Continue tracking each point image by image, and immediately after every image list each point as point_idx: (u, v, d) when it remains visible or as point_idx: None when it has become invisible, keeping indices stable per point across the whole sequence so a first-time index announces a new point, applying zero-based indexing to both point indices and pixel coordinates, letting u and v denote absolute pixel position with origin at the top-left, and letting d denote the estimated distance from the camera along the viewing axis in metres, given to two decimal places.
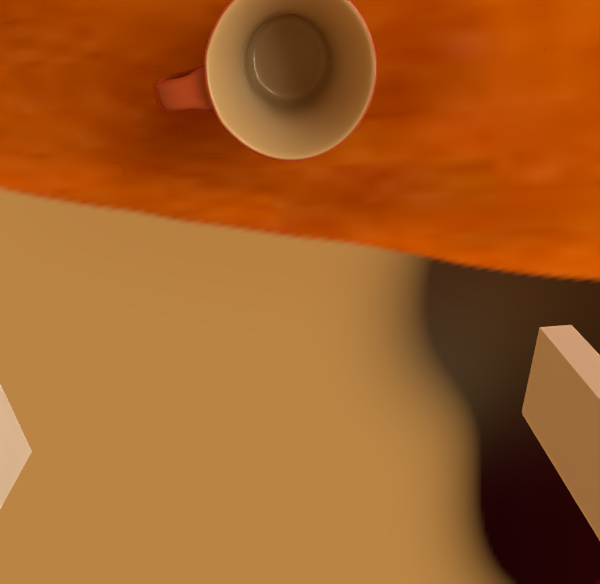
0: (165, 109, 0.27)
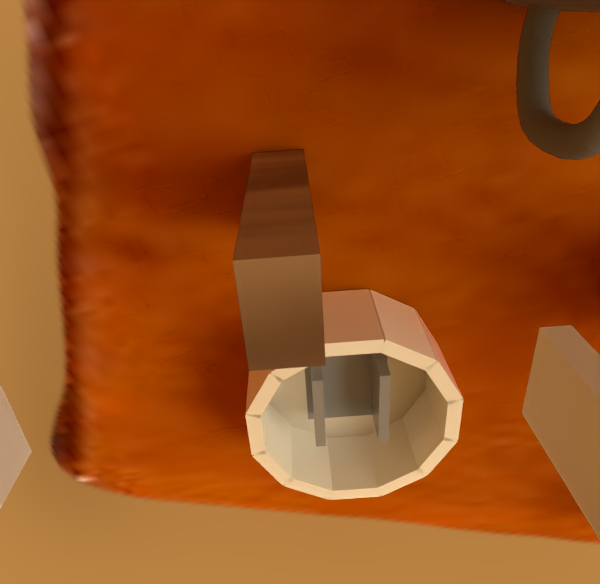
0: None
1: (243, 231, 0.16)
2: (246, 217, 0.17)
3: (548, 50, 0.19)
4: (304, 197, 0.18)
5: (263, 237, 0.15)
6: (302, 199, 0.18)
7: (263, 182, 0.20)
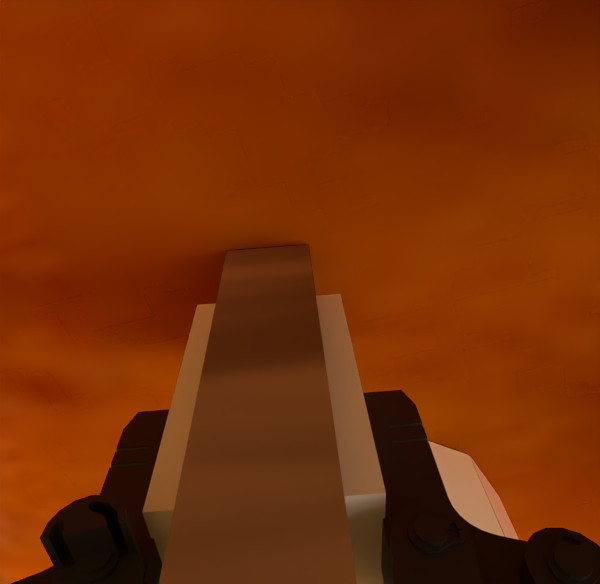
0: None
1: (174, 571, 0.06)
2: (190, 490, 0.08)
3: None
4: (319, 408, 0.09)
5: None
6: (313, 416, 0.09)
7: (237, 345, 0.11)
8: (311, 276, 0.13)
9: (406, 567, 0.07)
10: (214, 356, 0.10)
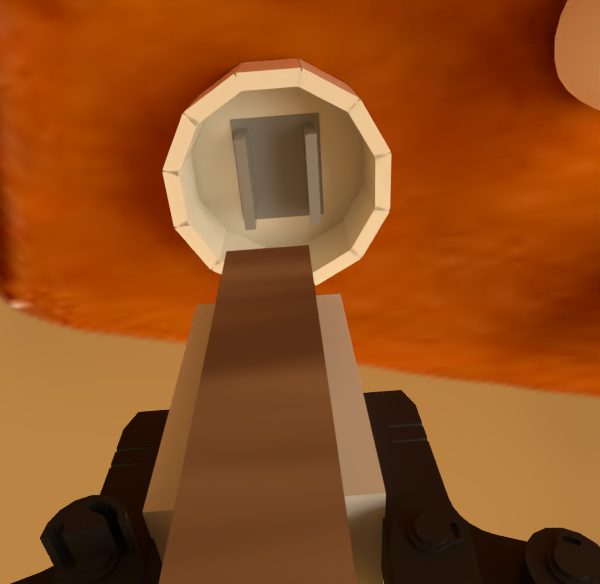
0: None
1: (174, 573, 0.06)
2: (190, 491, 0.08)
3: None
4: (319, 409, 0.09)
5: None
6: (313, 418, 0.09)
7: (237, 346, 0.11)
8: (311, 276, 0.13)
9: (406, 567, 0.07)
10: (214, 357, 0.10)
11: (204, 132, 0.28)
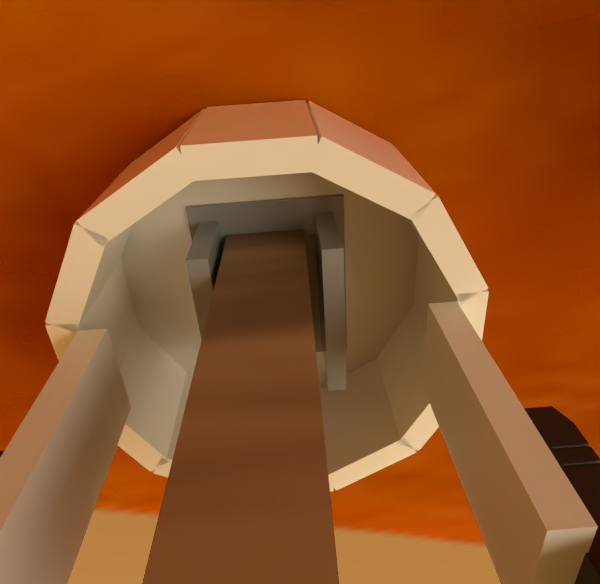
0: None
1: (176, 490, 0.08)
2: (190, 430, 0.09)
3: None
4: (305, 366, 0.10)
5: (215, 524, 0.07)
6: (300, 373, 0.10)
7: (234, 315, 0.12)
8: (304, 256, 0.14)
9: None
10: (214, 324, 0.12)
11: (142, 226, 0.16)
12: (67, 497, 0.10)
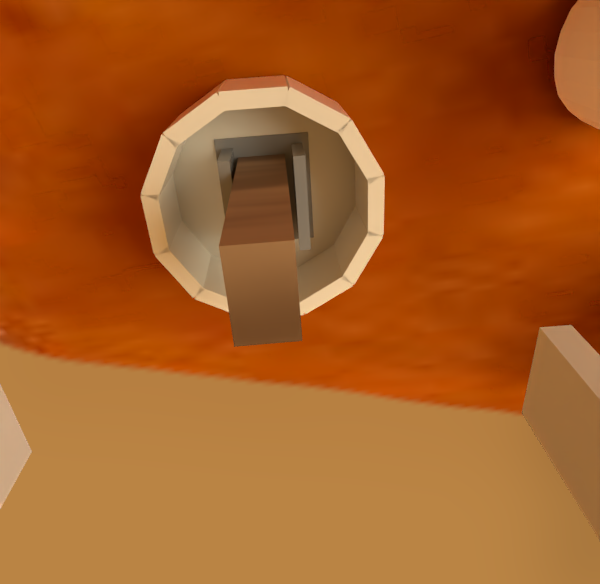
0: None
1: (228, 223, 0.18)
2: (231, 211, 0.19)
3: None
4: (283, 194, 0.21)
5: (246, 228, 0.18)
6: (281, 196, 0.20)
7: (247, 182, 0.22)
8: (284, 163, 0.25)
9: None
10: (236, 186, 0.22)
11: (186, 152, 0.27)
12: None
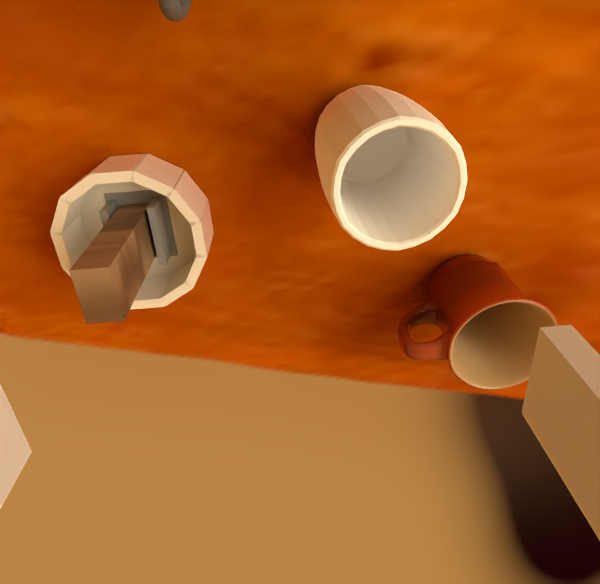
0: (412, 358, 0.41)
1: (82, 255, 0.33)
2: (89, 247, 0.34)
3: None
4: (125, 236, 0.35)
5: (89, 259, 0.32)
6: (123, 237, 0.35)
7: (111, 226, 0.37)
8: (144, 211, 0.40)
9: None
10: (104, 229, 0.37)
11: (87, 201, 0.41)
12: None
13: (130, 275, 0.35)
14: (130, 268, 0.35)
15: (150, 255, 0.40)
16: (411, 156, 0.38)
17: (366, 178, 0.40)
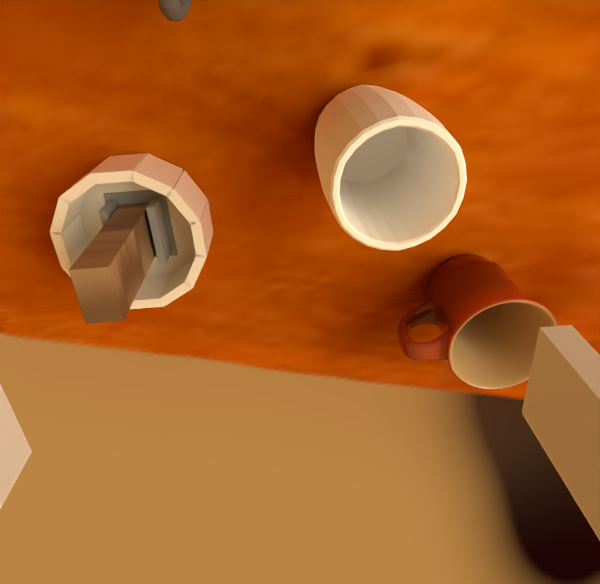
0: (411, 358, 0.41)
1: (82, 255, 0.33)
2: (88, 247, 0.34)
3: None
4: (125, 236, 0.35)
5: (89, 258, 0.32)
6: (122, 237, 0.35)
7: (111, 226, 0.37)
8: (144, 211, 0.40)
9: None
10: (103, 228, 0.37)
11: (87, 201, 0.41)
12: None
13: (130, 275, 0.35)
14: (130, 268, 0.35)
15: (149, 255, 0.40)
16: (411, 157, 0.38)
17: (366, 178, 0.40)
